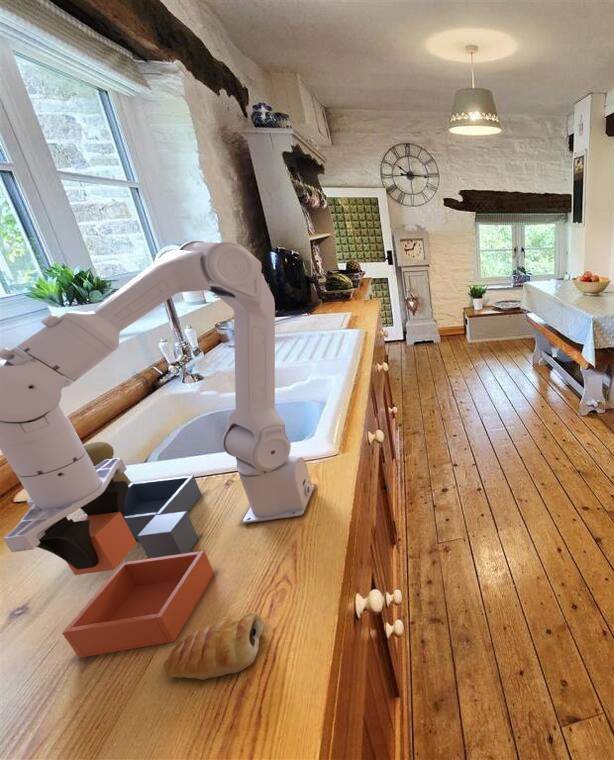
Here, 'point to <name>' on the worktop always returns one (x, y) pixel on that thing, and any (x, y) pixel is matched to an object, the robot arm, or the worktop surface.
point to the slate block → (168, 535)
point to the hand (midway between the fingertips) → (103, 550)
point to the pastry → (217, 648)
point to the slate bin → (158, 500)
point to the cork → (103, 457)
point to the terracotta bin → (140, 604)
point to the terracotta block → (108, 541)
